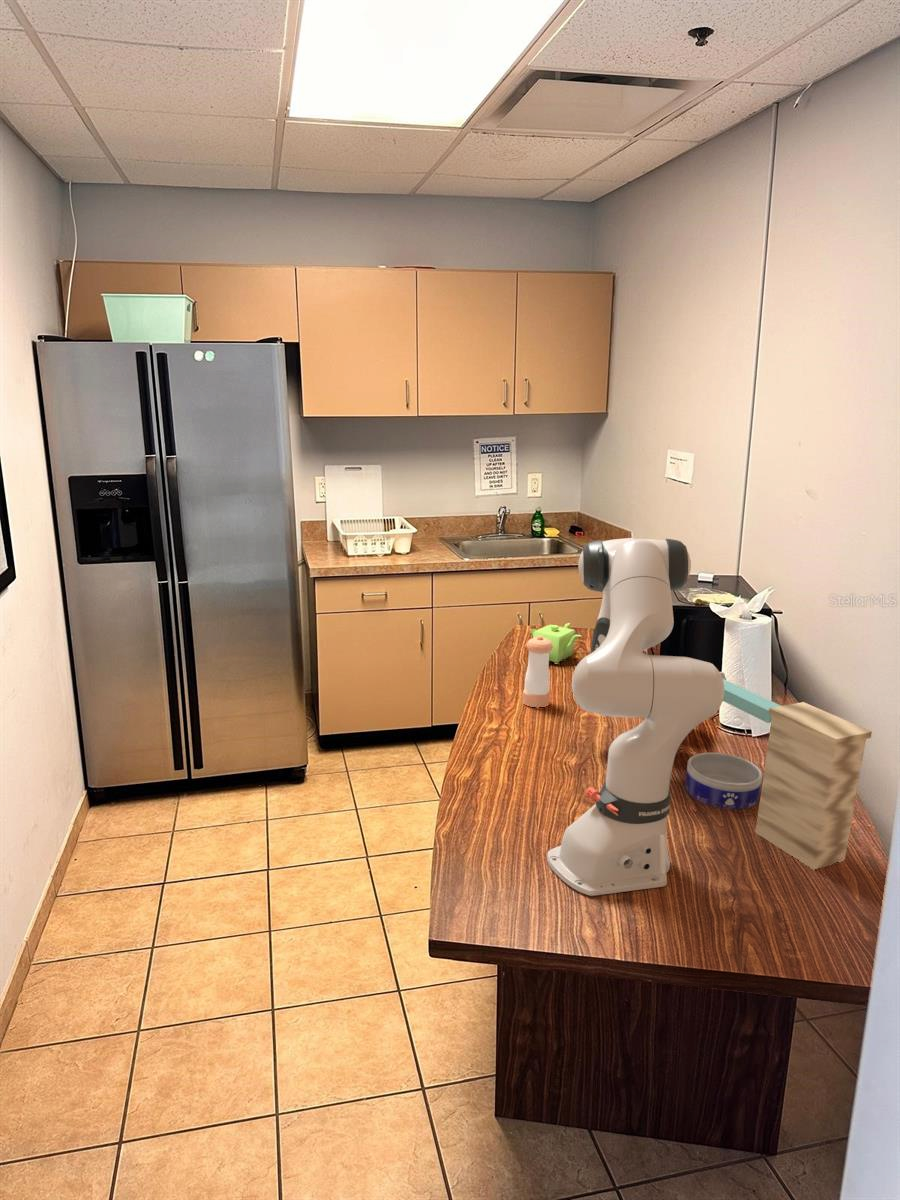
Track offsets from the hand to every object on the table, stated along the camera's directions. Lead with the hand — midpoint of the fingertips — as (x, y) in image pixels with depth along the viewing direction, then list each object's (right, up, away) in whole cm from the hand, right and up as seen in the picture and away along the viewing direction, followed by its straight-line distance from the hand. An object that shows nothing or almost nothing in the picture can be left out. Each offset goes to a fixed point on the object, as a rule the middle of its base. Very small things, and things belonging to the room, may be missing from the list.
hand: (708, 680), depth 177 cm
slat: (+3, -4, -6) cm, 8 cm away
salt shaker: (-33, -11, +45) cm, 57 cm away
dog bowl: (+3, -24, -1) cm, 24 cm away
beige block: (+10, -30, -22) cm, 38 cm away
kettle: (-23, -2, +82) cm, 85 cm away
